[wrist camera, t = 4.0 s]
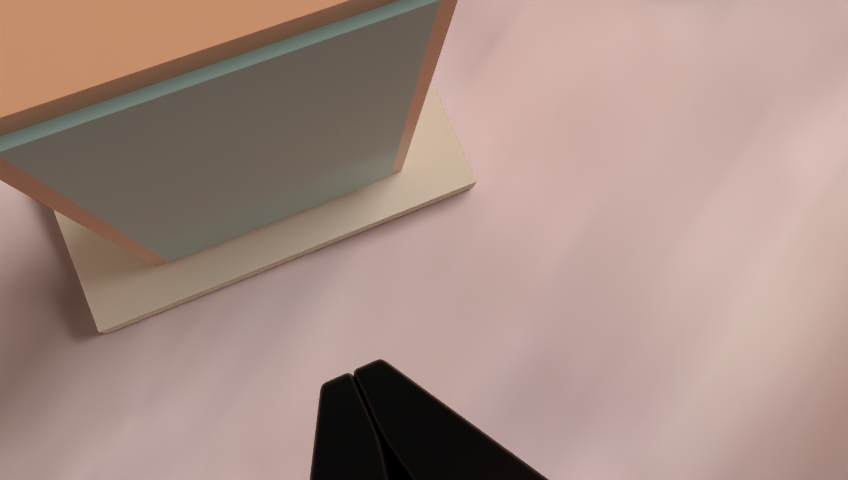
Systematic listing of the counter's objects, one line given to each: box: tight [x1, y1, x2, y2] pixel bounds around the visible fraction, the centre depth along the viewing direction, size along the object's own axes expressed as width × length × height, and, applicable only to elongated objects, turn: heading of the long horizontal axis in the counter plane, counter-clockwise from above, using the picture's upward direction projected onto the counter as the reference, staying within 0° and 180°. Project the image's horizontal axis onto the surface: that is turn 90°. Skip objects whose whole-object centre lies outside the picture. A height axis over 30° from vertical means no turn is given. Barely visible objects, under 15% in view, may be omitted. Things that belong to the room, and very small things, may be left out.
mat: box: [54, 80, 477, 334], centre depth 17 cm, size 12×9×1 cm
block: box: [0, 0, 458, 267], centre depth 12 cm, size 2×6×9 cm, turn 113°
